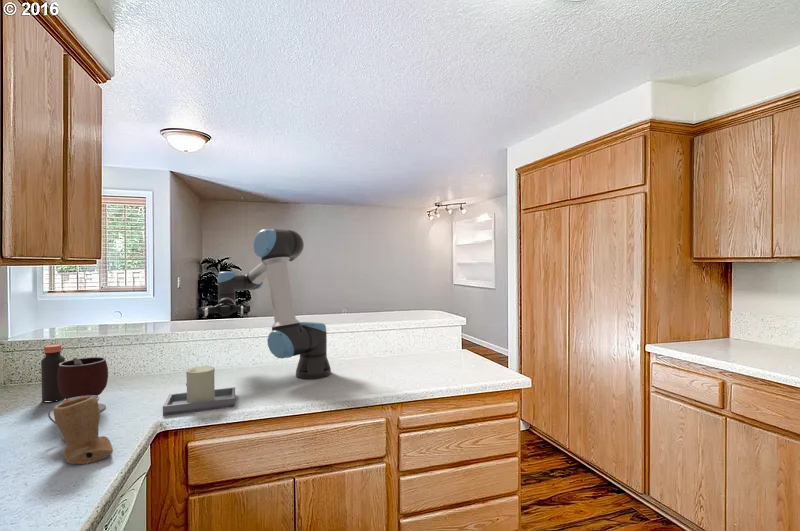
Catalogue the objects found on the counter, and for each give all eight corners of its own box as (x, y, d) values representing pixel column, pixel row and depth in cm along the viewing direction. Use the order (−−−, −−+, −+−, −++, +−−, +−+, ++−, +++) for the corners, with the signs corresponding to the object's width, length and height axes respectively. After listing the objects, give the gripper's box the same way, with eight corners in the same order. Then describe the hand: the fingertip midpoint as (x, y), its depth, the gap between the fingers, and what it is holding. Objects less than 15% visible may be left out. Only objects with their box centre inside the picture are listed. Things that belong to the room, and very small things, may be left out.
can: (182, 402, 151) (181, 368, 151) (208, 395, 158) (207, 363, 157) (193, 408, 145) (192, 372, 144) (219, 401, 151) (219, 367, 151)
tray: (235, 395, 161) (235, 387, 161) (234, 407, 148) (234, 398, 148) (169, 402, 154) (169, 394, 154) (162, 415, 141) (162, 406, 141)
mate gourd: (66, 407, 150) (65, 350, 149) (113, 402, 155) (112, 347, 154) (49, 423, 135) (47, 360, 135) (101, 416, 140) (100, 356, 140)
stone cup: (54, 452, 114) (53, 396, 114) (108, 440, 122) (107, 388, 121) (54, 474, 102) (52, 412, 102) (113, 459, 110) (112, 401, 110)
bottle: (45, 398, 160) (44, 345, 160) (68, 395, 163) (66, 343, 163) (39, 403, 154) (37, 348, 154) (62, 401, 157) (60, 346, 157)
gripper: (255, 313, 198) (256, 319, 178) (195, 316, 189) (190, 323, 169) (255, 297, 198) (256, 301, 178) (195, 299, 189) (189, 304, 169)
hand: (224, 311), depth 173 cm, fingers open, 13 cm apart
